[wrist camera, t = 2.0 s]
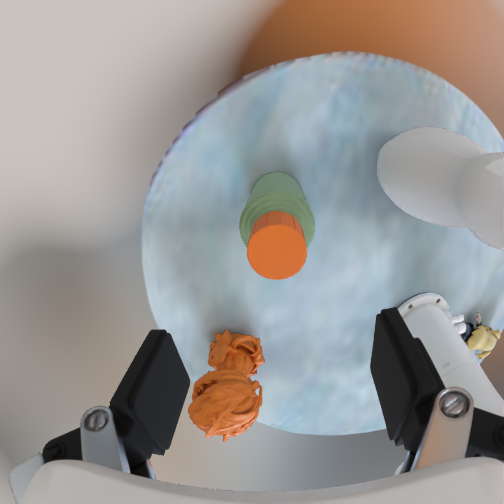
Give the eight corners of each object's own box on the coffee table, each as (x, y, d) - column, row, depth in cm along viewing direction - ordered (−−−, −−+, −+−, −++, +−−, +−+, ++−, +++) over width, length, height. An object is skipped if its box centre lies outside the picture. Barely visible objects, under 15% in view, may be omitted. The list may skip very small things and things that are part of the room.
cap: (299, 207, 21) (303, 221, 18) (304, 255, 22) (309, 276, 19) (247, 214, 22) (242, 228, 18) (255, 261, 23) (252, 282, 20)
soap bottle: (359, 203, 35) (503, 363, 8) (365, 117, 30) (565, 105, 4) (457, 215, 34) (598, 324, 7) (465, 140, 29) (633, 188, 2)
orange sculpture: (193, 328, 45) (159, 414, 29) (253, 313, 43) (240, 408, 27) (221, 372, 49) (202, 454, 33) (276, 361, 47) (273, 450, 30)
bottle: (298, 168, 34) (319, 199, 18) (304, 217, 36) (326, 286, 20) (248, 175, 35) (221, 212, 18) (256, 223, 37) (239, 295, 21)
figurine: (430, 339, 45) (476, 351, 44) (438, 357, 40) (485, 367, 38) (453, 298, 42) (499, 315, 40) (465, 314, 37) (510, 329, 35)
